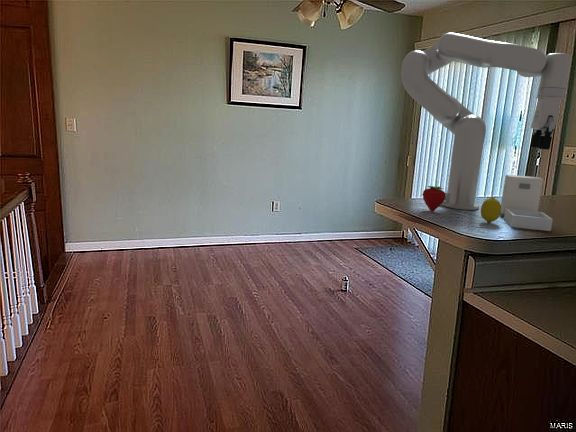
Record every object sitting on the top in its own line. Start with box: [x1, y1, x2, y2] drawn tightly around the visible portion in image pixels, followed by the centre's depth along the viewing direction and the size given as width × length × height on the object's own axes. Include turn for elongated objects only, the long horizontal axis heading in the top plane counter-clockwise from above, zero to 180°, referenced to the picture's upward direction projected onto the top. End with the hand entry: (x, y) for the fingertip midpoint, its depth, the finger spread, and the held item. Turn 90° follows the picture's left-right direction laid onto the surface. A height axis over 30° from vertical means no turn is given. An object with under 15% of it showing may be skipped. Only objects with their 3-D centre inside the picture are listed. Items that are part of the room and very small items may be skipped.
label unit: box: [499, 174, 544, 219], centre depth 149 cm, size 11×7×13 cm, turn 76°
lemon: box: [480, 196, 501, 224], centre depth 138 cm, size 6×6×8 cm
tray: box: [503, 209, 554, 232], centre depth 139 cm, size 11×11×4 cm
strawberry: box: [422, 180, 446, 212], centre depth 151 cm, size 6×8×10 cm
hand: (539, 148), depth 151 cm, fingers open, 9 cm apart
